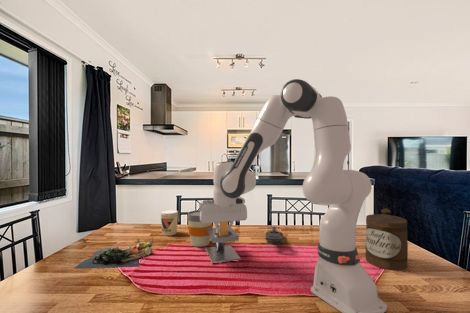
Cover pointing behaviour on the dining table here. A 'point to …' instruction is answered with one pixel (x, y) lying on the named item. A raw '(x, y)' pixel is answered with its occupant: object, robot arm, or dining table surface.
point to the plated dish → (118, 256)
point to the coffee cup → (169, 222)
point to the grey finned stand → (222, 246)
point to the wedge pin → (223, 229)
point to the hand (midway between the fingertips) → (223, 231)
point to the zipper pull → (274, 237)
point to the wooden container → (386, 240)
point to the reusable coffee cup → (198, 229)
